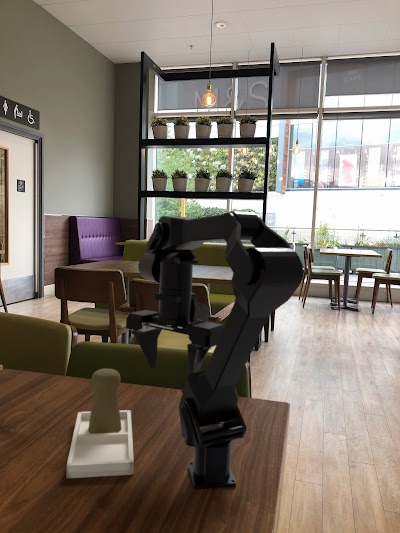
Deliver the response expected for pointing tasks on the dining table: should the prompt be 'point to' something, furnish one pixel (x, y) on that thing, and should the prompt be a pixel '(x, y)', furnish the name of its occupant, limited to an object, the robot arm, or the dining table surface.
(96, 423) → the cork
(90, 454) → the tray
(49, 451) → the dining table surface
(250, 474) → the dining table surface
